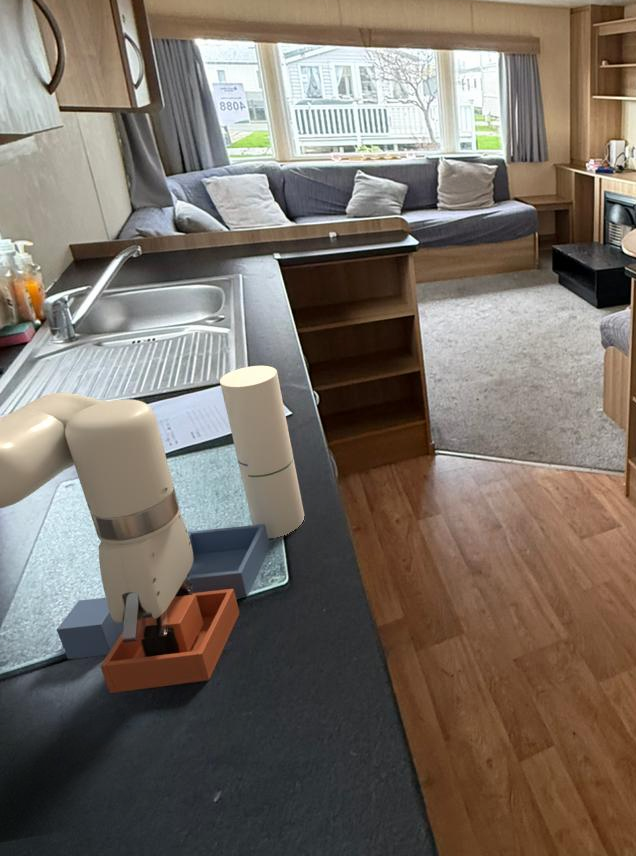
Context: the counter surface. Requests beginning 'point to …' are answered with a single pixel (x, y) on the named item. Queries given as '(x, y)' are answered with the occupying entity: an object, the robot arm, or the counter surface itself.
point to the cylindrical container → (263, 448)
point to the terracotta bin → (138, 672)
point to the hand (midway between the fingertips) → (174, 638)
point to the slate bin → (227, 558)
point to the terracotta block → (182, 621)
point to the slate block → (89, 629)
